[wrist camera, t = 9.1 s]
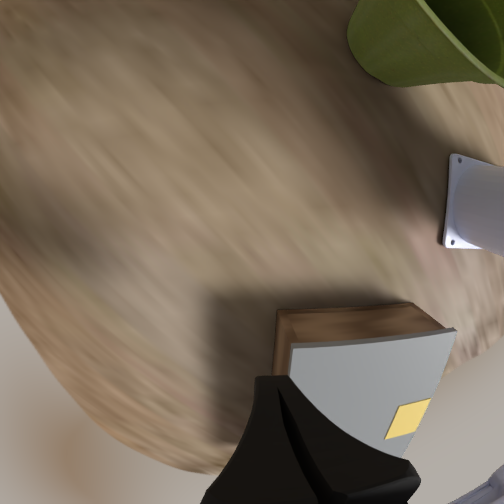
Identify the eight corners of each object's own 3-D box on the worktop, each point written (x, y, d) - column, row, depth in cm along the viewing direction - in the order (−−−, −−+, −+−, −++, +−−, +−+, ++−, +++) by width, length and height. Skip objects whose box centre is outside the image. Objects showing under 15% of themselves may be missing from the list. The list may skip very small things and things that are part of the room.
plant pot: (460, 68, 18) (550, 44, 7) (397, 145, 20) (513, 138, 9) (369, -28, 15) (431, -94, 5) (282, 31, 17) (330, -67, 6)
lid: (452, 327, 18) (458, 331, 17) (392, 465, 22) (394, 469, 21) (291, 343, 17) (293, 349, 16) (271, 486, 21) (271, 491, 20)
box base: (412, 302, 23) (445, 328, 18) (371, 431, 27) (388, 462, 22) (276, 309, 22) (290, 345, 17) (264, 446, 26) (271, 484, 21)
